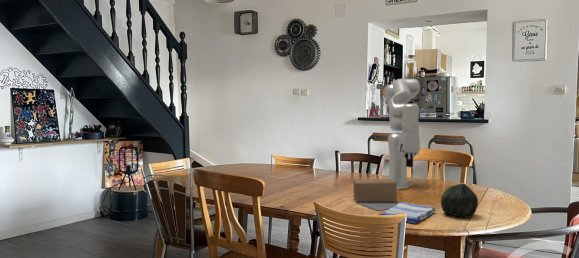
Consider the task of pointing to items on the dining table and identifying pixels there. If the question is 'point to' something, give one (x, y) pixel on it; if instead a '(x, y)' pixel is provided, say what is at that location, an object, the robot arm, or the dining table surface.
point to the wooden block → (375, 190)
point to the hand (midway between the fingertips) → (409, 166)
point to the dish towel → (411, 211)
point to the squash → (459, 201)
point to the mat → (378, 205)
